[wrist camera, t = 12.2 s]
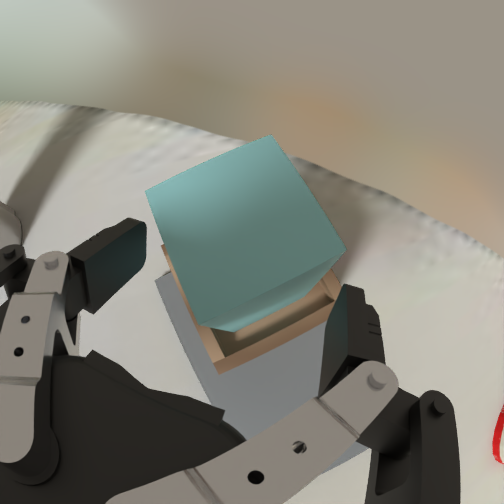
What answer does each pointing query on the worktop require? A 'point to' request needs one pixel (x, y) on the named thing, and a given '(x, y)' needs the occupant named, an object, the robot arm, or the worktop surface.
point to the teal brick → (243, 234)
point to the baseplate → (254, 374)
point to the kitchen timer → (499, 438)
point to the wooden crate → (266, 325)
